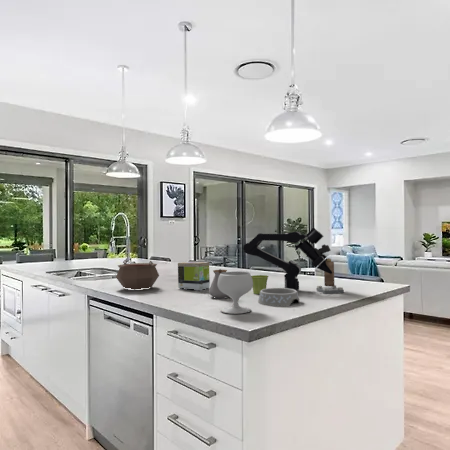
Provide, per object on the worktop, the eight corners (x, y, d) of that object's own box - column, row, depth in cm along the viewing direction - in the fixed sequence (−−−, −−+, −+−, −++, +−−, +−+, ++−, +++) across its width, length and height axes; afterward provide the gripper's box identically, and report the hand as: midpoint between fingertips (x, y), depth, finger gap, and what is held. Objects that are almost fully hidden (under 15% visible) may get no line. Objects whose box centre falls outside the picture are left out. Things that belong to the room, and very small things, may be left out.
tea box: (210, 288, 210) (209, 261, 210) (199, 291, 202) (199, 263, 202) (188, 286, 218) (188, 261, 218) (177, 289, 210) (177, 262, 210)
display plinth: (324, 293, 185) (324, 288, 185) (316, 290, 194) (316, 285, 194) (343, 292, 186) (343, 287, 186) (334, 289, 196) (334, 284, 196)
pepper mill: (331, 286, 187) (330, 258, 187) (322, 285, 190) (321, 258, 191) (336, 285, 190) (335, 258, 190) (327, 284, 194) (327, 257, 194)
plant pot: (246, 293, 190) (245, 276, 190) (257, 291, 196) (257, 274, 197) (261, 295, 183) (260, 277, 183) (272, 293, 190) (272, 275, 190)
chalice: (260, 311, 148) (260, 273, 148) (232, 317, 140) (231, 276, 140) (239, 306, 159) (238, 270, 159) (211, 310, 151) (210, 273, 151)
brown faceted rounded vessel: (106, 290, 211) (106, 260, 211) (139, 284, 231) (138, 257, 231) (136, 293, 197) (135, 262, 198) (168, 287, 217) (167, 258, 217)
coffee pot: (209, 295, 187) (208, 265, 188) (232, 294, 187) (231, 264, 188) (207, 303, 166) (206, 269, 166) (233, 303, 166) (233, 268, 166)
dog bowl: (307, 301, 167) (306, 289, 167) (282, 308, 154) (281, 295, 154) (275, 297, 179) (275, 286, 179) (250, 303, 166) (250, 291, 166)
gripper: (318, 239, 183) (343, 263, 179) (322, 238, 201) (344, 260, 197) (302, 256, 186) (326, 279, 182) (307, 253, 203) (328, 274, 199)
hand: (332, 272), depth 190 cm, fingers closed on pepper mill, 5 cm apart
